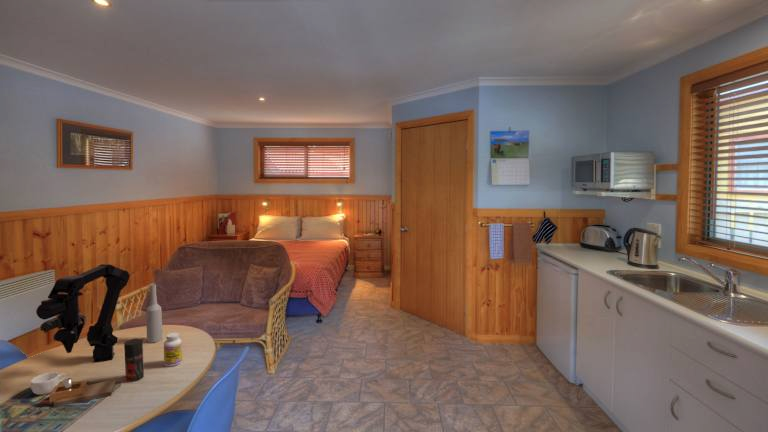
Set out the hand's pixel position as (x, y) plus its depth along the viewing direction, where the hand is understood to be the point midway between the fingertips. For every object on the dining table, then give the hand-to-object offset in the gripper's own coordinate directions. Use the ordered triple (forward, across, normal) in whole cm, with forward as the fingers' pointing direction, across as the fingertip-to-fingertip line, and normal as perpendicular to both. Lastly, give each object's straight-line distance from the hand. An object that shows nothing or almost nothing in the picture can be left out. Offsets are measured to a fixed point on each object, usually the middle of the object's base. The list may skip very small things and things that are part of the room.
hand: (72, 347), depth 144 cm
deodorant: (+12, +13, +21) cm, 28 cm away
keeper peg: (+10, +18, +2) cm, 21 cm away
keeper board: (+12, +18, +7) cm, 23 cm away
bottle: (+12, -24, +26) cm, 38 cm away
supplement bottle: (+12, +6, +34) cm, 37 cm away
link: (+10, +18, +2) cm, 21 cm away
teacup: (+12, +8, -6) cm, 16 cm away
